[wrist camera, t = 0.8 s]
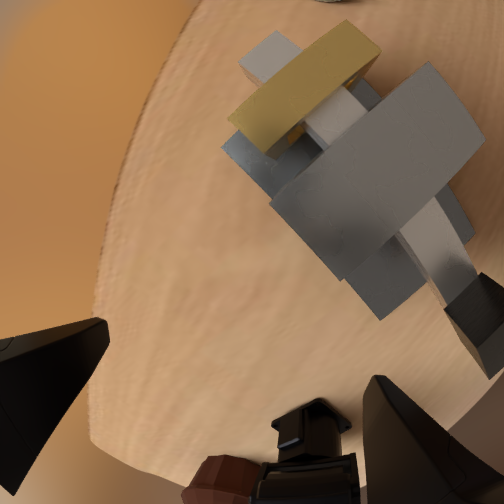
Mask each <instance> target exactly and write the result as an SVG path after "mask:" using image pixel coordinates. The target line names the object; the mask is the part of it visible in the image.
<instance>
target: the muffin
mask: <svg viewBox="0 0 504 504" xmlns="http://www.w3.org/2000/svg"><path fill="white" fill-rule="evenodd" d="M259 469H261V466H259V465H256V464H254V463H252V462H250V461H249V460H247V459H245V458H238V457H233V456H229V455H219V456H208V457H207V459H206V460H205V461H204V462H203V463H202V464H201V466H200V468H199V469H198V471H197V473H196V474H195V476H194V478H193V479H192V481H191V483H190V484H189V486H188V487H186V488H185V489H184V490H183V492H182V494H181V497H182V500H183V503H184V504H249V503H248V498H249V496H250V493H251V490H252V488H253V485H254V483H255V480H256V477H257V475H258V472H259Z"/></svg>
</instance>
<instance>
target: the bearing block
mask: <svg viewBox="0 0 504 504" xmlns="http://www.w3.org/2000/svg"><path fill="white" fill-rule="evenodd" d="M351 94H352V95H353V96H354V97H355V98H356V99H357V100H358V102H359V103H360V104H361V105H362V106H363V107H364V108H365V109H366V110H367V111H368V113H367V114H366V115H365V116H363V117H362V118H361V119H360V120H359V121H358V122H357V123H356V124H354V125H353V126H352V127H351V128H350V129H349V130H348V131H347V132H345V133H344V134H343V135H342V136H341V137H340V138H339V139H338V140H337V141H335V142H334V143H333V144H332V145H331V146H330V147H329V148H328V149H327V150H325V151H324V150H323V149H322V148H321V147H320V146H319V145H318V144H317V143H316V142H315V141H314V140H313V138H312V137H311V136H310V135H309V134H308V133H307V132H306V133H305V134H303V135H302V136H301V137H300V138H299V139H298V140H297V141H296V142H295V143H294V144H293V145H291V146H290V147H289V148H288V149H287V150H286V151H285V152H284V153H283V154H282V155H281V156H280V157H279V158H278V159H276V160H274V159H272V158H271V157H269V156H267V155H265V154H263V153H262V152H261V151H260V150H259V149H258V148H257V147H256V146H255V145H254V144H253V143H252V142H251V141H250V140H249V139H248V138H247V137H246V136H245V135H244V134H243V133H242V132H241V131H240V130H238V131H237V132H236V133H235V134H234V135H233V136H232V137H231V138H230V139H229V140H228V141H227V142H226V143H225V144H224V145H223V146H222V147H221V148H222V149H223V150H224V151H225V152H226V153H227V154H228V155H229V156H230V157H231V158H232V159H233V160H234V161H235V162H236V163H237V164H238V165H239V166H240V167H241V168H242V169H243V170H244V171H245V172H246V173H247V174H248V175H249V176H250V177H251V178H252V179H253V180H254V181H255V182H256V183H257V184H258V185H259V186H260V187H261V188H262V189H263V190H264V191H265V192H266V193H267V194H268V195H269V196H270V197H271V198H272V200H271V202H270V203H269V204H270V205H271V206H272V208H273V209H274V210H275V211H276V212H277V213H278V214H279V215H280V216H281V217H282V218H283V219H284V220H285V221H286V222H287V223H288V224H289V226H290V227H291V228H292V229H293V230H294V231H295V232H296V233H297V234H298V235H299V236H300V237H301V238H302V240H303V241H304V242H305V243H306V244H307V245H308V246H309V247H310V248H311V249H312V250H313V252H314V253H315V254H316V255H317V256H318V257H319V258H320V259H321V260H322V261H323V263H324V264H325V265H326V266H327V267H328V268H329V269H330V270H331V272H332V273H333V274H334V275H335V276H336V277H337V278H338V280H339V281H341V280H342V279H345V280H346V281H347V282H348V283H349V284H350V285H351V287H352V288H353V289H354V290H355V291H356V293H357V294H358V295H359V296H360V297H361V298H362V300H363V301H364V302H365V303H366V304H367V306H368V307H369V308H370V309H371V310H372V312H373V313H374V314H375V315H376V316H377V318H378V319H379V320H380V321H381V320H382V319H383V318H385V317H386V316H387V315H388V314H390V313H391V312H392V311H393V310H395V309H396V308H397V307H398V306H399V305H401V304H402V303H403V302H404V301H405V300H407V299H408V298H409V297H410V296H411V295H412V294H414V293H415V292H416V291H417V290H418V289H419V288H420V287H421V286H423V285H424V284H425V283H426V280H425V279H424V277H423V276H422V274H421V272H420V271H419V269H418V268H417V266H416V265H415V263H414V262H413V260H412V259H411V258H410V256H409V255H408V253H407V252H406V250H405V249H404V248H403V246H402V245H401V243H400V242H399V241H398V239H397V238H396V236H395V235H394V234H395V233H396V232H398V231H399V230H400V229H401V228H402V227H403V226H404V225H405V224H406V223H407V222H408V221H409V220H410V219H411V218H412V217H413V216H415V215H416V214H417V213H418V212H419V211H420V210H421V209H422V208H423V207H424V206H425V205H426V204H427V203H428V202H429V201H430V200H431V199H432V198H433V197H435V198H436V200H437V201H438V203H439V205H440V206H441V208H442V209H443V211H444V213H445V214H446V216H447V218H448V219H449V221H450V223H451V224H452V226H453V228H454V230H455V231H456V233H457V235H458V237H459V239H460V240H461V242H462V244H463V246H464V245H465V244H466V243H467V242H468V241H469V240H470V238H471V237H472V236H473V235H474V234H475V231H474V229H473V228H472V226H471V224H470V222H469V220H468V218H467V216H466V214H465V212H464V211H463V209H462V207H461V205H460V204H459V202H458V200H457V198H456V197H455V195H454V193H453V192H452V190H451V189H450V187H449V185H448V184H447V183H448V182H449V180H450V179H451V178H452V177H453V176H454V175H455V174H456V173H457V172H458V171H459V170H460V169H461V168H462V167H463V166H464V164H465V163H466V162H467V161H468V160H469V159H470V158H471V157H472V156H473V154H474V153H475V152H476V151H477V150H478V149H479V148H480V146H481V145H482V144H483V143H484V142H485V141H486V139H485V137H484V135H483V134H482V132H481V131H480V129H479V127H478V126H477V124H476V123H475V121H474V120H473V118H472V117H471V115H470V114H469V112H468V111H467V109H466V108H465V106H464V105H463V104H462V102H461V101H460V99H459V98H458V97H457V95H456V94H455V93H454V91H453V90H452V89H451V88H450V86H449V85H448V84H447V82H446V81H445V80H444V79H443V78H442V76H441V75H440V74H439V73H438V72H437V70H436V69H435V68H434V67H433V66H432V65H431V64H430V62H429V61H428V62H427V63H426V64H424V65H423V66H422V67H420V68H419V69H418V70H416V71H415V72H414V73H413V74H411V75H410V76H409V77H407V78H406V79H405V80H404V81H402V82H401V83H400V84H399V85H397V86H396V87H395V88H394V89H392V90H391V91H390V92H389V93H387V94H386V95H385V96H384V97H382V98H381V97H380V96H379V95H378V93H377V92H376V91H375V90H374V89H373V88H372V87H371V86H370V85H369V84H368V83H367V82H366V81H365V80H364V79H363V78H362V79H361V81H360V82H359V83H358V85H357V86H356V87H355V89H354V90H353V91H352V92H351Z"/></svg>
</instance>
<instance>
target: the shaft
mask: <svg viewBox="0 0 504 504" xmlns="http://www.w3.org/2000/svg"><path fill="white" fill-rule="evenodd" d="M302 51H303V50H302V49H300V48H299V47H298V46H297V45H295V44H294V43H293V42H291V41H290V40H289V39H288V38H286V37H285V36H284V35H282V34H281V33H280V32H278V31H277V30H276V31H275V32H273V33H272V34H271V35H269V36H268V37H267V38H266V39H264V40H263V41H262V42H261V43H259V44H258V45H257V46H256V47H255V48H253V49H252V50H251V51H250V52H249V53H248V54H246V55H245V56H244V57H243V58H242V59H241V60H239V61H238V63H239V65H240V67H241V68H242V70H243V72H244V74H245V75H246V77H247V78H248V79H249V80H250V81H251V82H253V83H254V84H255V85H256V86H257V87H258V88H260V87H261V86H262V85H263V84H264V83H266V82H267V81H268V80H269V79H270V78H271V77H272V76H273V75H275V74H276V73H277V72H278V71H279V70H281V69H282V68H283V67H284V66H285V65H286V64H288V63H289V62H290V61H291V60H293V59H294V58H295V57H296V56H297V55H299V54H300V53H301V52H302ZM367 113H368V111H367V110H366V109H365V108H364V107H363V106H362V105H361V104H360V103H359V102H358V100H357V99H356V98H355V97H354V96H353V95H352V94H351V93H350V92H349V91H348V90H347V89H346V88H345V87H342V88H341V89H340V90H339V91H338V92H336V93H335V94H334V95H333V96H332V97H331V98H329V99H328V100H327V101H326V102H325V103H324V104H322V105H321V106H320V107H319V108H318V109H317V110H316V111H314V112H313V113H312V114H311V115H310V116H309V117H308V118H307V119H305V120H304V121H303V122H302V123H301V124H300V126H301V127H302V128H303V129H304V130H305V131H306V132H307V133H308V134H309V135H310V136H311V137H312V138H313V140H314V141H315V142H316V143H317V144H318V145H319V146H320V147H321V148H322V149H323V150H324V151H325V150H327V149H328V148H329V147H330V146H331V145H332V144H333V143H334V142H335V141H337V140H338V139H339V138H340V137H341V136H342V135H343V134H344V133H345V132H347V131H348V130H349V129H350V128H351V127H352V126H353V125H354V124H356V123H357V122H358V121H359V120H360V119H361V118H362V117H363V116H365V115H366V114H367ZM394 235H395V236H396V238H397V239H398V241H399V242H400V243H401V245H402V246H403V248H404V249H405V250H406V252H407V253H408V255H409V256H410V258H411V259H412V260H413V262H414V263H415V265H416V266H417V268H418V269H419V271H420V272H421V274H422V276H423V277H424V279H425V280H426V282H427V283H428V285H429V286H430V288H431V290H432V291H433V293H434V295H435V296H436V298H437V299H438V301H439V303H440V305H441V306H442V308H443V310H444V311H445V313H446V315H447V317H448V318H449V320H450V322H451V324H452V326H453V327H454V329H455V331H456V333H457V335H458V337H459V339H460V341H461V342H462V343H463V345H464V346H465V347H466V348H467V350H468V351H469V352H470V354H471V355H472V356H473V358H474V359H475V361H476V362H477V363H478V365H479V366H480V368H481V369H482V370H483V372H484V373H485V375H486V376H487V378H488V379H489V380H490V379H491V378H492V377H493V376H495V375H496V374H497V373H498V372H499V371H500V370H501V369H502V368H503V367H504V288H503V287H502V286H501V285H499V284H498V283H497V282H495V281H494V280H492V279H491V278H490V277H488V276H487V275H485V274H484V273H482V272H481V273H480V274H479V275H477V272H476V270H475V268H474V266H473V264H472V262H471V260H470V258H469V256H468V254H467V252H466V250H465V248H464V246H463V244H462V242H461V240H460V239H459V237H458V235H457V233H456V231H455V230H454V228H453V226H452V224H451V223H450V221H449V219H448V218H447V216H446V214H445V213H444V211H443V209H442V208H441V206H440V205H439V203H438V201H437V200H436V198H435V197H433V198H432V199H431V200H430V201H429V202H428V203H427V204H426V205H425V206H424V207H423V208H422V209H421V210H420V211H419V212H418V213H417V214H416V215H415V216H413V217H412V218H411V219H410V220H409V221H408V222H407V223H406V224H405V225H404V226H403V227H402V228H401V229H400V230H399V231H398V232H396V233H395V234H394Z"/></svg>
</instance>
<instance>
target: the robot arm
mask: <svg viewBox="0 0 504 504" xmlns="http://www.w3.org/2000/svg"><path fill="white" fill-rule="evenodd" d="M109 343H110V336H109V330H108V323H107V321H106V320H104V319H101V318H99V317H94V318H90V319H86V320H83V321H79V322H74V323H70V324H66V325H62V326H58V327H54V328H49V329H45V330H41V331H37V332H32V333H28V334H23V335H19V336H15V337H10V338H5V339H1V340H0V485H1V486H2V487H3V488H4V489H5V490H7V491H8V492H9V493H10V494H11V495H12V496H14V495H15V494H16V492H17V490H18V489H19V487H20V485H21V483H22V482H23V480H24V478H25V476H26V475H27V473H28V471H29V470H30V468H31V466H32V465H33V463H34V461H35V460H36V458H37V456H38V455H39V453H40V451H41V450H42V448H43V447H44V445H45V444H46V442H47V440H48V439H49V437H50V436H51V434H52V433H53V431H54V430H55V428H56V426H57V425H58V424H59V422H60V420H61V419H62V417H63V416H64V415H65V413H66V412H67V410H68V409H69V407H70V406H71V404H72V403H73V401H74V400H75V399H76V397H77V396H78V394H79V393H80V391H81V390H82V388H83V387H84V386H85V384H86V383H87V382H88V380H89V379H90V377H91V376H92V374H93V372H94V371H95V369H96V367H97V365H98V363H99V362H100V360H101V358H102V356H103V355H104V353H105V351H106V349H107V348H108V346H109ZM317 403H319V404H317ZM271 427H272V428H274V429H275V430H277V431H278V432H279V437H278V445H277V448H278V449H279V455H278V463H269V462H263V463H262V466H261V469H259V472H258V475H257V477H256V480H255V483H254V485H253V488H252V490H251V493H250V496H249V498H248V503H249V504H361V502H360V483H359V474H358V467H357V459H356V452H355V453H350V454H348V455H343V456H342V449H341V436H340V434H341V433H343V432H345V431H347V430H349V429H351V428H352V424H351V422H349V421H348V420H347V419H345V418H344V417H343V416H342V415H340V414H339V413H338V412H336V411H335V410H334V409H333V408H331V407H330V406H329V405H328V404H326V403H325V402H324V401H323V400H321V399H315V400H313V401H311V402H310V403H308V404H306V405H304V406H302V407H300V408H298V409H296V410H294V411H293V412H291V413H289V414H287V415H285V416H283V417H280V418H278V419H276V420H274V421H272V423H271ZM363 446H364V456H365V468H366V482H367V499H368V504H504V476H503V475H502V474H500V473H499V472H497V471H496V470H494V469H493V468H492V467H490V466H489V465H487V464H486V463H485V462H483V461H482V460H480V459H479V458H478V457H477V456H475V455H474V454H473V453H471V452H470V451H469V450H467V449H466V448H465V447H464V446H463V445H462V444H460V443H459V442H458V441H457V440H456V439H455V438H454V437H453V436H450V434H449V433H448V432H447V431H446V430H445V429H444V428H443V427H441V426H440V425H439V424H438V423H437V422H436V421H435V420H434V419H433V418H432V417H430V416H429V415H428V414H427V413H426V412H425V411H424V410H423V409H422V408H421V407H419V406H418V405H417V404H416V403H415V402H414V401H413V400H412V399H411V398H410V397H408V396H407V395H406V394H405V393H404V392H403V391H402V390H401V389H400V388H398V387H397V386H396V385H395V384H394V383H393V382H392V381H391V380H390V379H389V378H387V377H386V376H384V375H374V376H372V378H371V380H370V382H369V384H368V386H367V388H366V390H365V392H364V395H363Z"/></svg>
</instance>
